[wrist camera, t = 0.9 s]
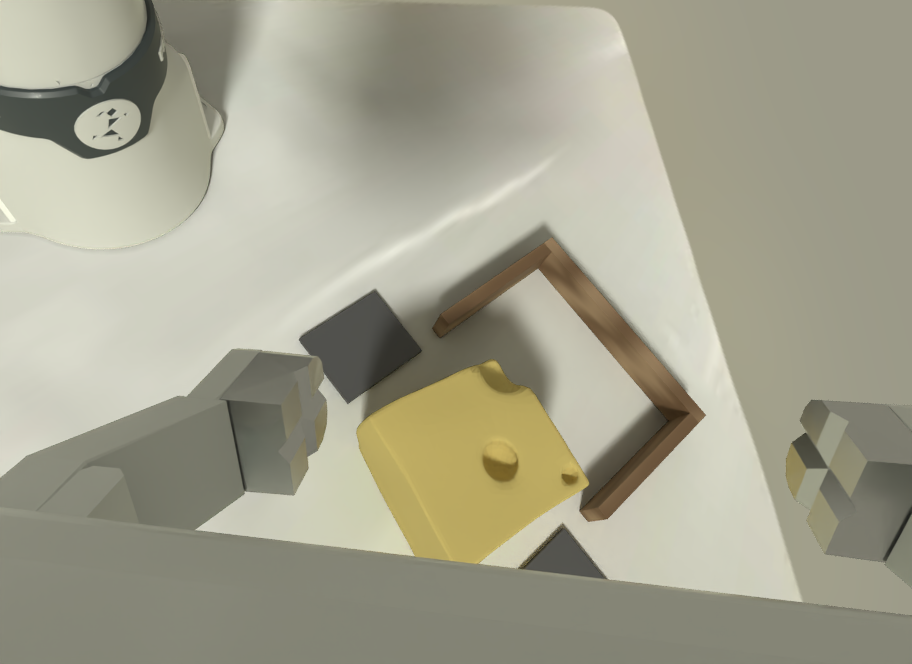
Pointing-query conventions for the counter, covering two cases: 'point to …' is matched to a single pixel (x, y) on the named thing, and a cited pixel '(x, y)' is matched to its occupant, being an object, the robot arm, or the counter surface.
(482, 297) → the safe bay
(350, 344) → the pads
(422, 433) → the cheese
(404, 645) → the robot arm
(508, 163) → the counter surface
